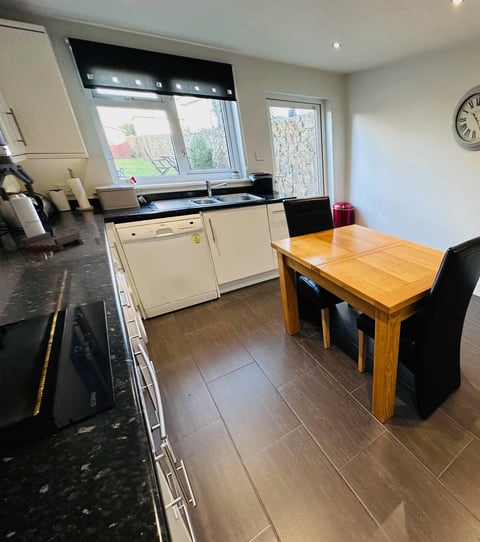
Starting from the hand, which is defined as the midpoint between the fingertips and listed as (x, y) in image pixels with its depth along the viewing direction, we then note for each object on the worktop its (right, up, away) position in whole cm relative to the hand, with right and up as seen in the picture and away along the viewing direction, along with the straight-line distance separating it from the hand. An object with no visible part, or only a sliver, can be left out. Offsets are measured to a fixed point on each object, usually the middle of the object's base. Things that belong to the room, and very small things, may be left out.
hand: (20, 198), depth 149 cm
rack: (+16, -26, +3) cm, 31 cm away
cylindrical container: (-1, -23, +10) cm, 25 cm away
